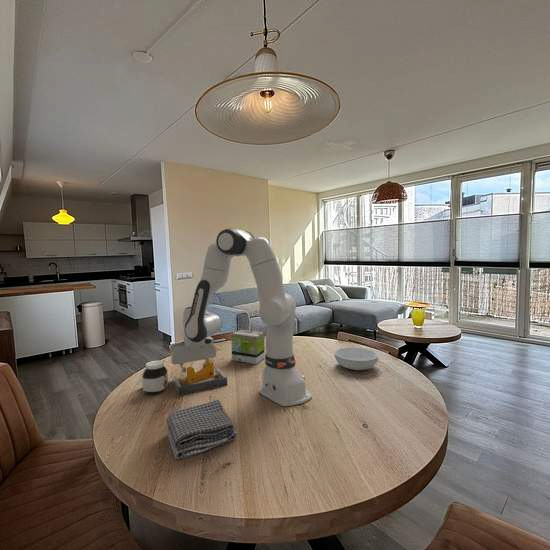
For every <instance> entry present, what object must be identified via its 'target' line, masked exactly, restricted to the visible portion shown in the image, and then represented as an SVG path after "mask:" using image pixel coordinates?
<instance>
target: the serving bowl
mask: <svg viewBox="0 0 550 550" xmlns="http://www.w3.org/2000/svg"><path fill="white" fill-rule="evenodd" d="M334 358H335V360H336V362H337V363H338V364H339V365H340V366H341V367H343V368H346V369H349V370H353V371H365V370H369V369H372V368H374V367H375V365H377V363H378V361H379V353H377V352H375V351H374V350H371V349H369V348H362V347H356V346H355V347H354V346H353V347H340V348H338V349H336V350H334Z"/></svg>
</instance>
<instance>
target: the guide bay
mask: <svg viewBox="0 0 550 550" xmlns="http://www.w3.org/2000/svg"><path fill="white" fill-rule="evenodd" d="M215 375H216V376H217V378H216V379H211V380H206V381H203V382H195V383H191V384H187V385H183V386H181V384H180V382H179V380H178V378H177V376H172V377H173V378H172V379H173V380H172V381H173V385H174V388H175V387H176V388H175V389H177V390H176V392H177V393H178V396H179V395H180V396H183V394H184V395H188V393H189V394H193V393H197V392H201V391H206V390H209V389H210V390H211V389H214V388H219V387H220V388H221V387H223V386H227V385H228V377H227V376H226V375H225V374H224V372H223V371H222V370H221V369H220V368H218V367H216V368H215ZM192 392H193V393H192Z"/></svg>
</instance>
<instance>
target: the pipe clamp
mask: <svg viewBox="0 0 550 550" xmlns="http://www.w3.org/2000/svg"><path fill="white" fill-rule="evenodd" d="M214 372H215V371H214V361H212V360H209V361H208V362H207V363H206V367H205V368H203V367H202V368H201V369H200V370H198V371H195V368H194V367H192V366H188V367H186V383H188V382H189V384H190V383H191V384H194V383H197V382H199V381H202V380H205V379H208V378H210V377H214V375H215V374H214ZM193 382H194V383H193Z"/></svg>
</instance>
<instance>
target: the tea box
mask: <svg viewBox="0 0 550 550" xmlns="http://www.w3.org/2000/svg"><path fill="white" fill-rule="evenodd" d="M230 343H231V361H235V362H240V363H241V362H242V363H247V364H252V365H258V364H259V363H260V362H262V361H263V360H265V332H264V331H255V330H247V329H239V330H237V331H235V332H233V333H231V342H230ZM262 359H263V360H262ZM257 363H258V364H257Z"/></svg>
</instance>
